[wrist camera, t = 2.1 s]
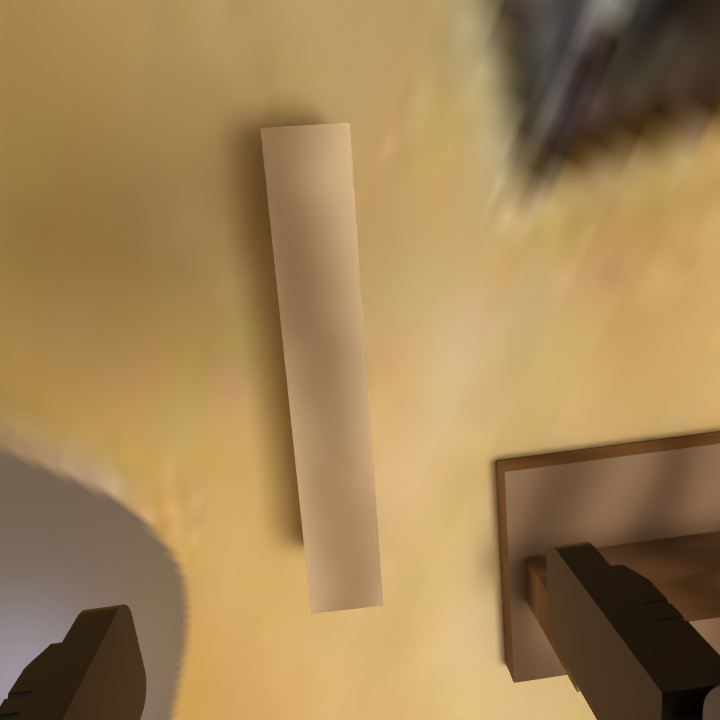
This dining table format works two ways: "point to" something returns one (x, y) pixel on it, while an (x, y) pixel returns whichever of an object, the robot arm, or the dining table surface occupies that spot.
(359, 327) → the oak bar
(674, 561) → the stand
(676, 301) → the dining table surface
